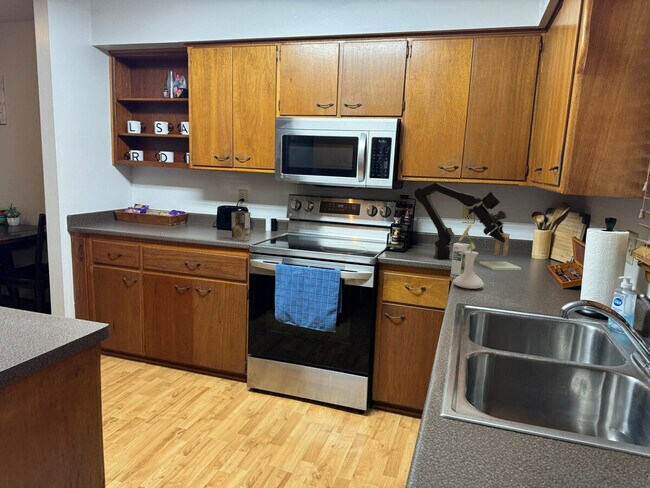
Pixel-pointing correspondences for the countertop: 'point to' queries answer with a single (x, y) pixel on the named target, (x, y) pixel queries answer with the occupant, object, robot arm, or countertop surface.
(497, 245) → the wooden footstool
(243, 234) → the coffee box
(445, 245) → the robot arm
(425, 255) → the countertop surface
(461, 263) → the syrup box
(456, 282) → the flower in vase
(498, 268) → the board
